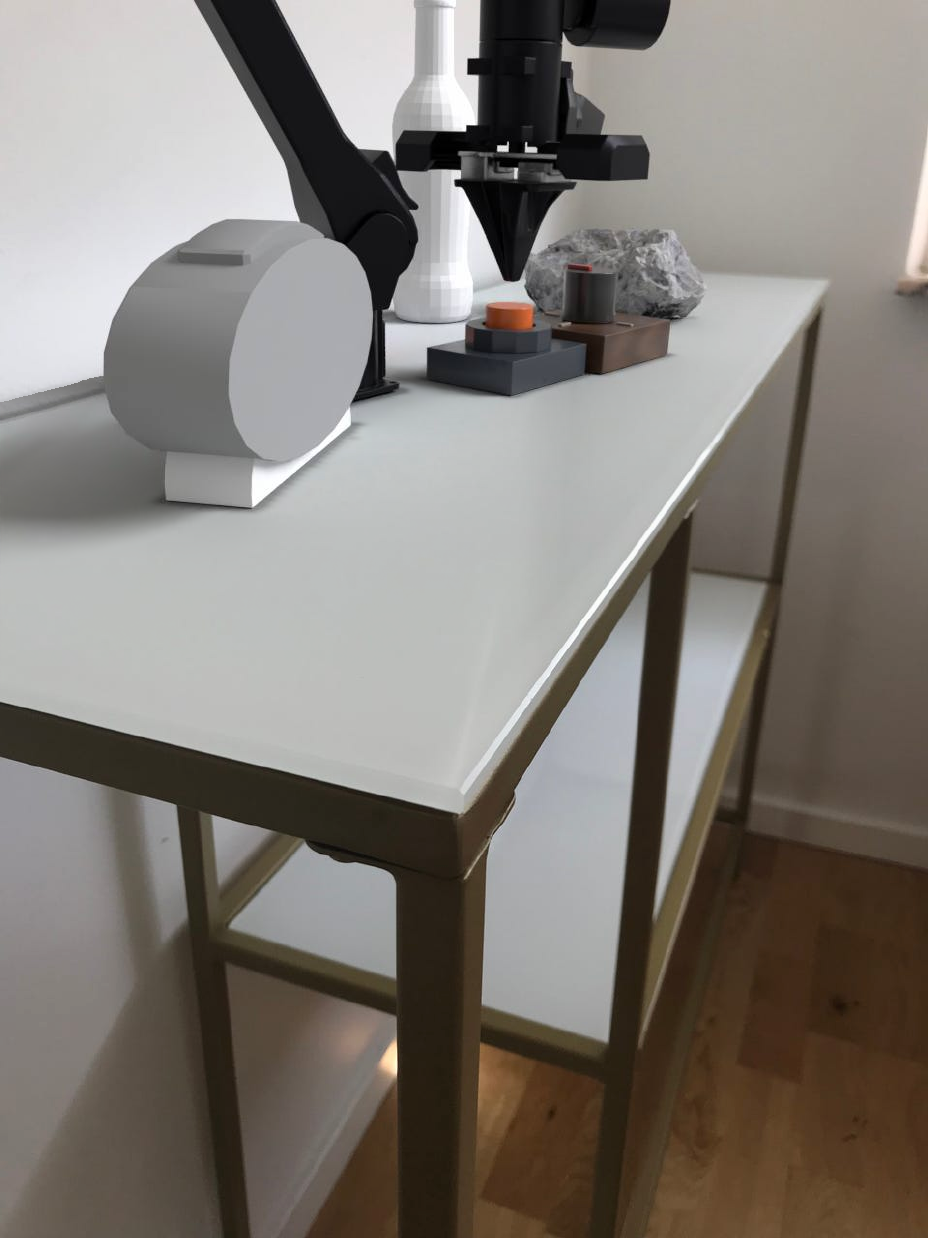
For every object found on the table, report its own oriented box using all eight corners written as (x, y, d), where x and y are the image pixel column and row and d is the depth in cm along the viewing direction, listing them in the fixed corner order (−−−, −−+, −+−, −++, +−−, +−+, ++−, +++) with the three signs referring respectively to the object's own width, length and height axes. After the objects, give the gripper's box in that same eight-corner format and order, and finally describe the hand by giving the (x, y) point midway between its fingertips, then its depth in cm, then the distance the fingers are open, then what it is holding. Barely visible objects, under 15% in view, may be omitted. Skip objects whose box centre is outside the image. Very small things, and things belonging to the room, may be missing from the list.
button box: (511, 395, 74) (513, 339, 73) (426, 379, 79) (426, 325, 77) (584, 374, 82) (588, 322, 80) (503, 360, 86) (504, 310, 84)
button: (514, 334, 76) (515, 310, 76) (475, 328, 78) (476, 305, 78) (541, 328, 79) (542, 305, 78) (503, 323, 81) (504, 300, 80)
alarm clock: (287, 407, 70) (275, 205, 64) (374, 413, 69) (371, 208, 63) (117, 519, 49) (80, 236, 44) (239, 531, 48) (216, 242, 43)
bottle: (486, 316, 106) (496, -25, 93) (444, 327, 100) (448, -37, 87) (422, 308, 110) (422, -20, 97) (376, 318, 104) (371, -32, 91)
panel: (602, 374, 82) (605, 333, 80) (500, 356, 87) (501, 318, 86) (667, 354, 90) (671, 317, 88) (570, 339, 95) (572, 304, 94)
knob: (623, 319, 87) (627, 266, 86) (596, 325, 84) (601, 270, 82) (579, 313, 90) (582, 261, 88) (551, 319, 87) (554, 265, 85)
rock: (717, 299, 111) (719, 202, 106) (693, 350, 100) (694, 246, 95) (555, 299, 118) (548, 208, 112) (516, 347, 107) (507, 249, 101)
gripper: (698, 47, 71) (674, 283, 78) (483, 54, 81) (478, 261, 88) (616, 35, 63) (597, 298, 70) (389, 43, 73) (391, 273, 80)
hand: (511, 280), depth 77 cm, fingers closed
